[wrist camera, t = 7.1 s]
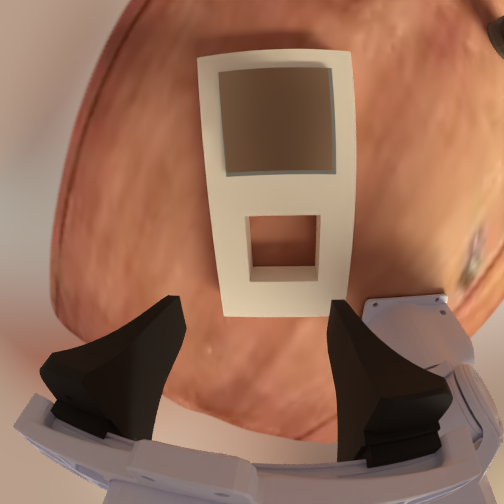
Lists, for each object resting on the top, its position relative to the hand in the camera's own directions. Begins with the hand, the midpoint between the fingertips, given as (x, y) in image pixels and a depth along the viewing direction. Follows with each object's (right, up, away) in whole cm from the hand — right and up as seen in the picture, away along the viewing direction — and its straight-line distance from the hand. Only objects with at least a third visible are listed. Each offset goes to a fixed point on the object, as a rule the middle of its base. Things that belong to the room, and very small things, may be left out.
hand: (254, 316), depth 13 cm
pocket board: (+2, +8, +8) cm, 11 cm away
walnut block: (+2, +11, +3) cm, 11 cm away
